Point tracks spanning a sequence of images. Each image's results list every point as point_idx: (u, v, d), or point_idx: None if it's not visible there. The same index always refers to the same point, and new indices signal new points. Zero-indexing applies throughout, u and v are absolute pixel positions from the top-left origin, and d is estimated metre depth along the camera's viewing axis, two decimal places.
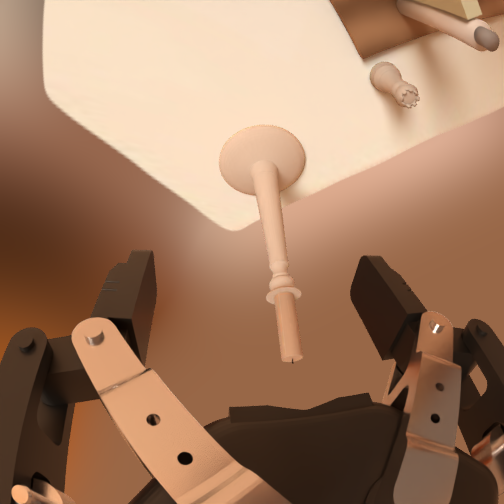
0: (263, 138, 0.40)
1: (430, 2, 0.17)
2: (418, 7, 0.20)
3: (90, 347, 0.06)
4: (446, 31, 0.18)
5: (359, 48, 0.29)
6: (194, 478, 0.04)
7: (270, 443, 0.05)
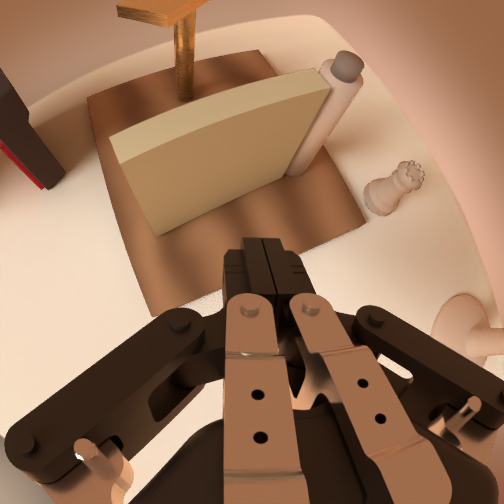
0: (445, 342, 0.30)
1: (301, 134, 0.23)
2: (304, 150, 0.26)
3: (253, 320, 0.08)
4: (339, 119, 0.22)
5: (354, 226, 0.31)
6: (254, 456, 0.04)
7: None
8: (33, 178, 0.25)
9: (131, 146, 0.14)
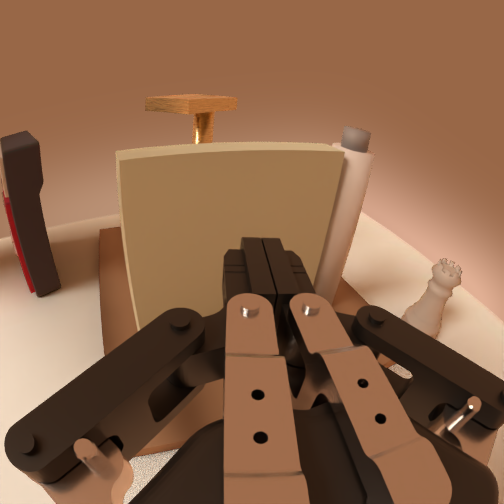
0: None
1: (323, 228, 0.22)
2: (328, 260, 0.24)
3: (253, 320, 0.08)
4: (360, 206, 0.22)
5: None
6: (254, 456, 0.04)
7: None
8: (26, 271, 0.23)
9: (136, 154, 0.13)
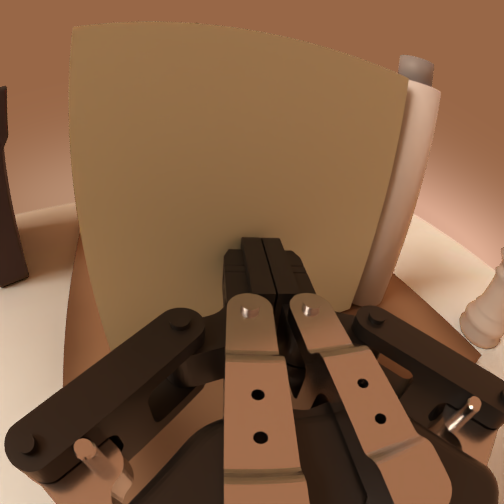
0: None
1: (383, 185, 0.14)
2: (385, 236, 0.16)
3: (253, 320, 0.08)
4: (426, 160, 0.14)
5: None
6: (254, 456, 0.04)
7: None
8: None
9: None
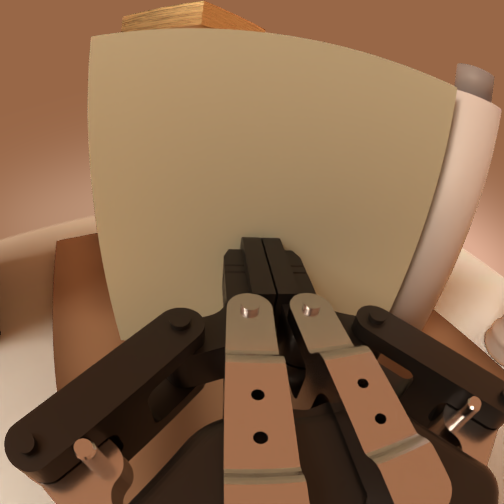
0: None
1: (421, 210, 0.12)
2: (422, 269, 0.13)
3: (253, 319, 0.08)
4: (479, 189, 0.11)
5: None
6: (254, 456, 0.04)
7: None
8: None
9: None
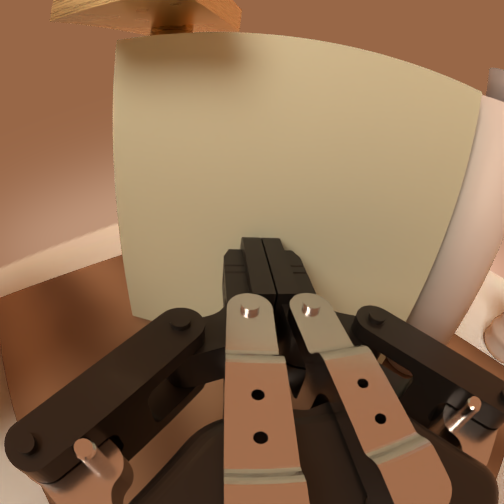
0: None
1: (438, 227, 0.10)
2: (437, 295, 0.12)
3: (253, 319, 0.08)
4: None
5: None
6: (254, 456, 0.04)
7: None
8: None
9: None
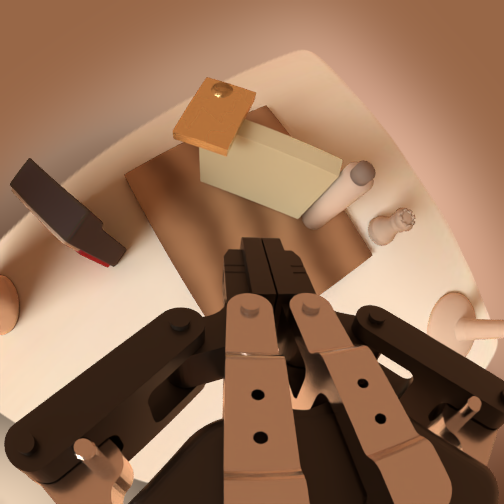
0: (438, 333, 0.41)
1: (314, 196, 0.33)
2: (316, 210, 0.36)
3: (253, 319, 0.08)
4: (342, 205, 0.31)
5: (364, 260, 0.41)
6: (255, 457, 0.04)
7: None
8: (103, 263, 0.34)
9: None
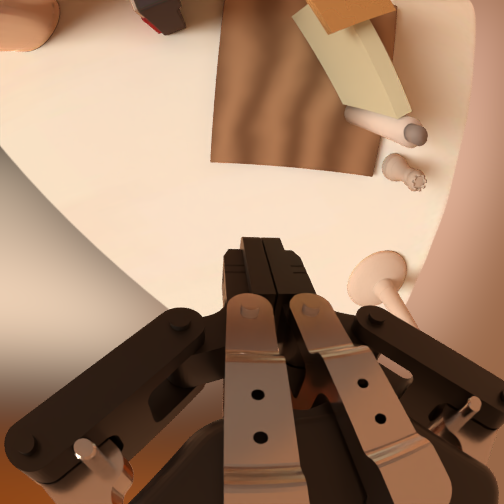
0: (365, 272, 0.52)
1: (369, 107, 0.29)
2: (361, 114, 0.33)
3: (253, 319, 0.08)
4: (382, 134, 0.29)
5: (363, 174, 0.43)
6: (255, 457, 0.04)
7: None
8: (157, 30, 0.27)
9: None
